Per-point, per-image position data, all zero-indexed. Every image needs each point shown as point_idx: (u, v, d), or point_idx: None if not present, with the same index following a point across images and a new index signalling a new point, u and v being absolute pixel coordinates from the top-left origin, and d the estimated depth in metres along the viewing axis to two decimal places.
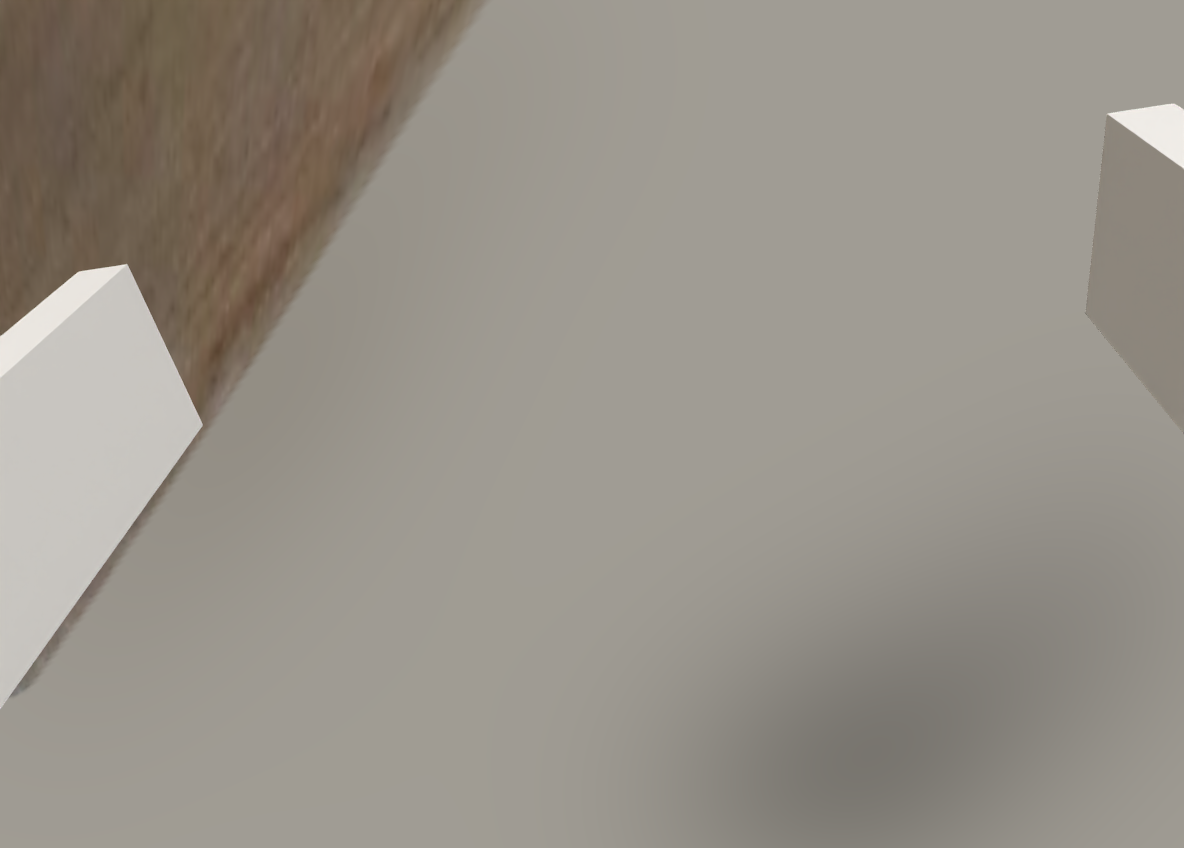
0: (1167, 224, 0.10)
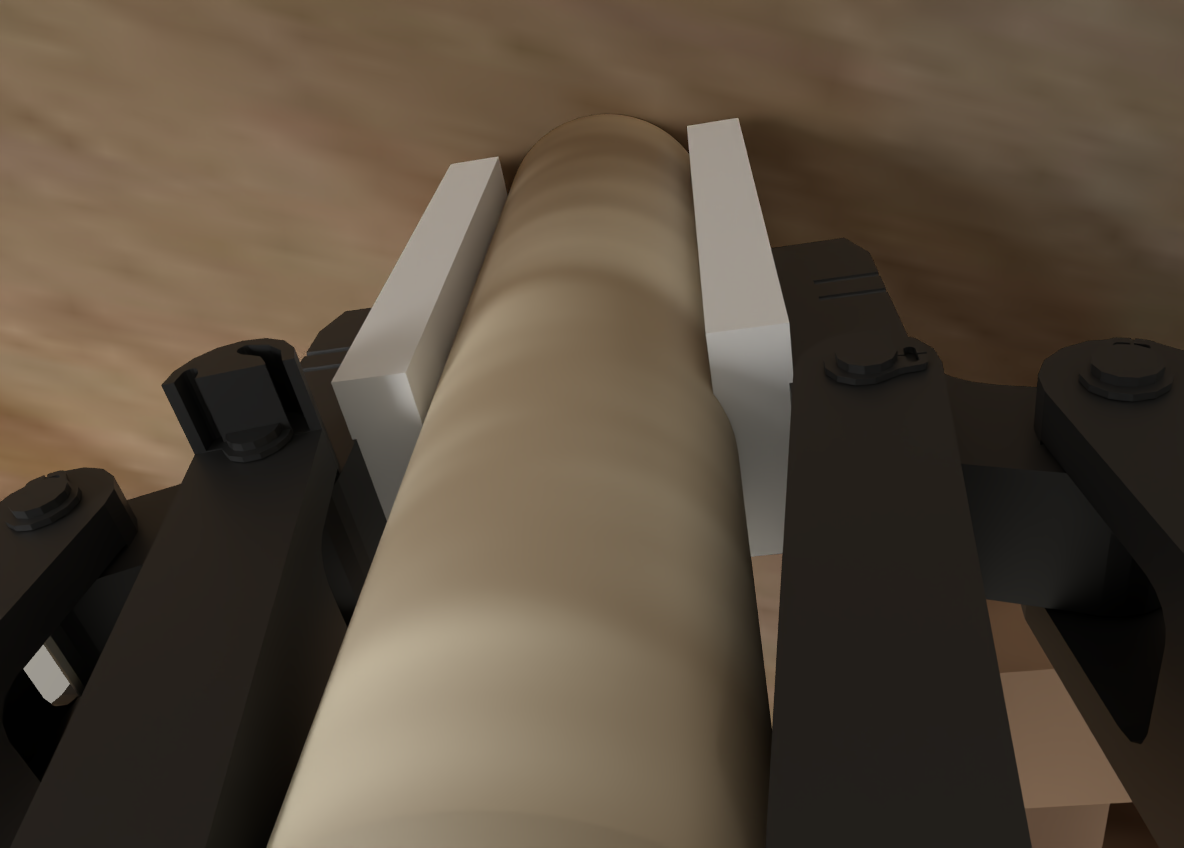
0: None
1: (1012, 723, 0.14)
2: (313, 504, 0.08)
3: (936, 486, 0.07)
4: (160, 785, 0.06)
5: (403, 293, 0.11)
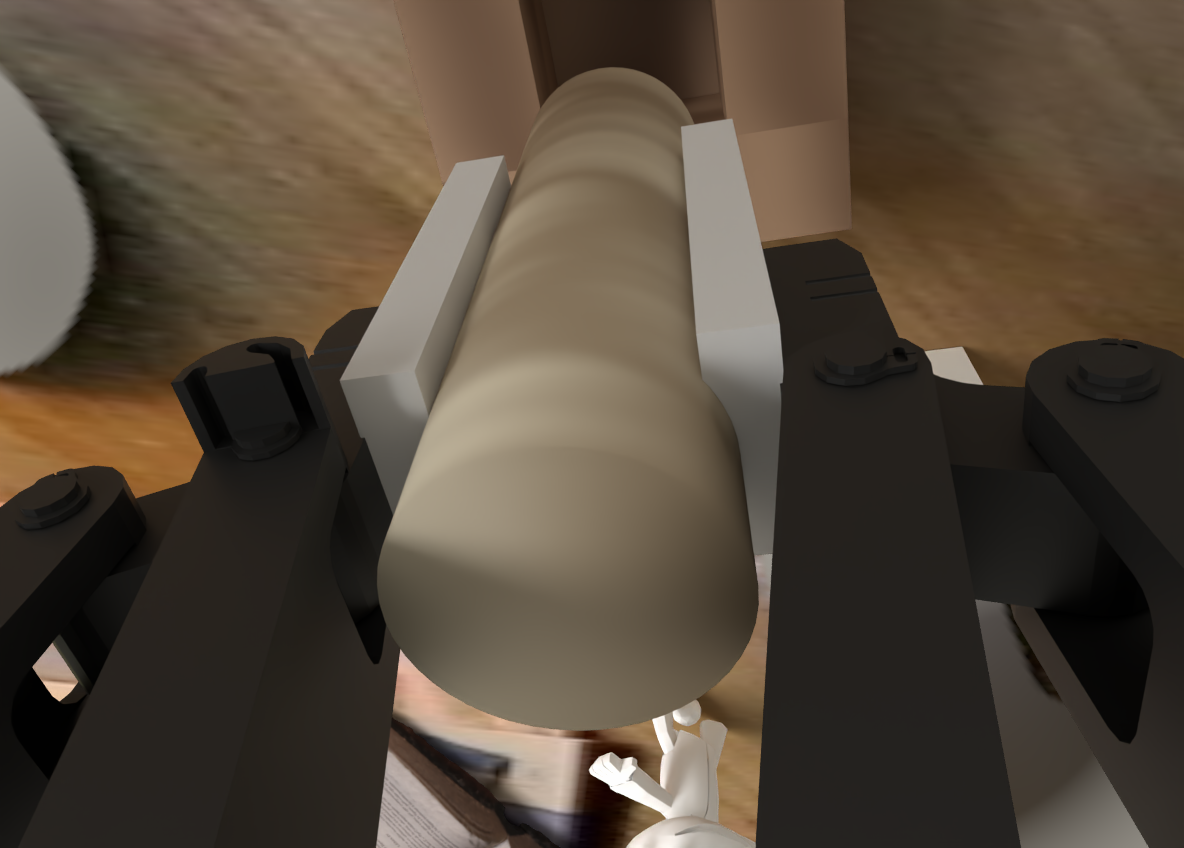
0: None
1: None
2: (321, 503, 0.08)
3: (926, 486, 0.07)
4: (168, 782, 0.06)
5: (410, 292, 0.11)
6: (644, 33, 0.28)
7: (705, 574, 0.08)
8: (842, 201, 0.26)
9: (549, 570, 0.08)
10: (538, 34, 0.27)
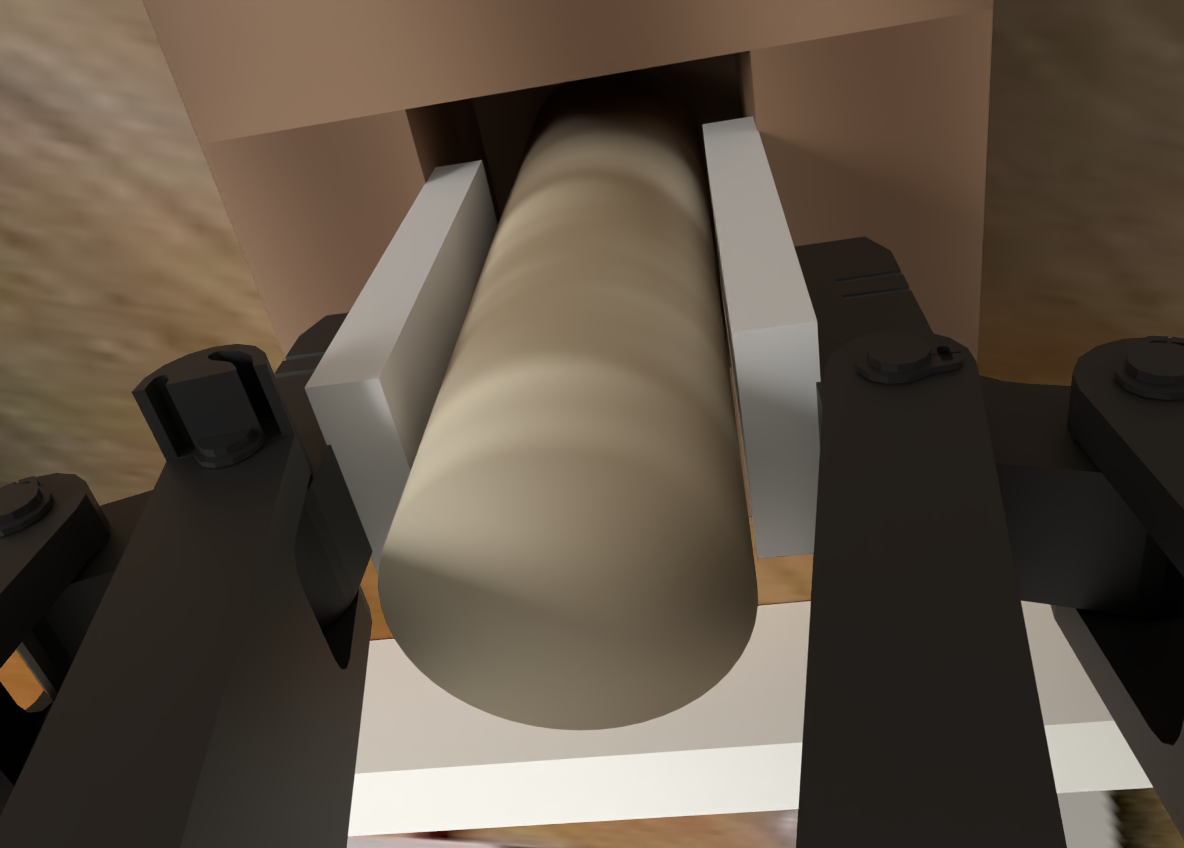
0: None
1: None
2: (286, 509, 0.08)
3: (970, 487, 0.07)
4: (132, 789, 0.06)
5: (380, 298, 0.11)
6: None
7: (704, 575, 0.08)
8: None
9: (548, 571, 0.08)
10: None
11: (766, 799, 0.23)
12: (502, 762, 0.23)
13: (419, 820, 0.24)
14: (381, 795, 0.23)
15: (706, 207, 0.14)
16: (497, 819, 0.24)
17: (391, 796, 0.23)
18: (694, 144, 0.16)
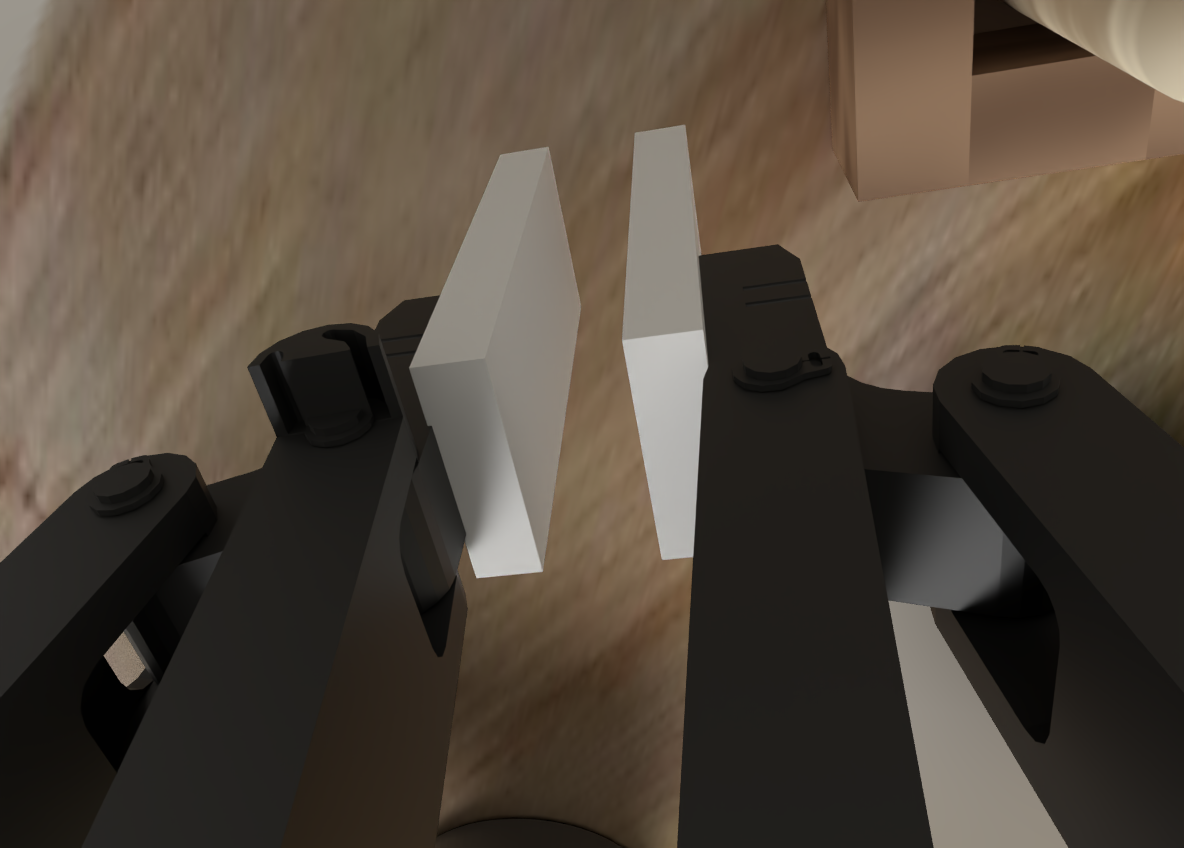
0: None
1: (896, 143, 0.27)
2: (392, 493, 0.08)
3: (840, 487, 0.07)
4: (237, 774, 0.06)
5: (470, 280, 0.11)
6: None
7: None
8: None
9: None
10: (1017, 44, 0.28)
11: None
12: None
13: None
14: None
15: None
16: None
17: None
18: None
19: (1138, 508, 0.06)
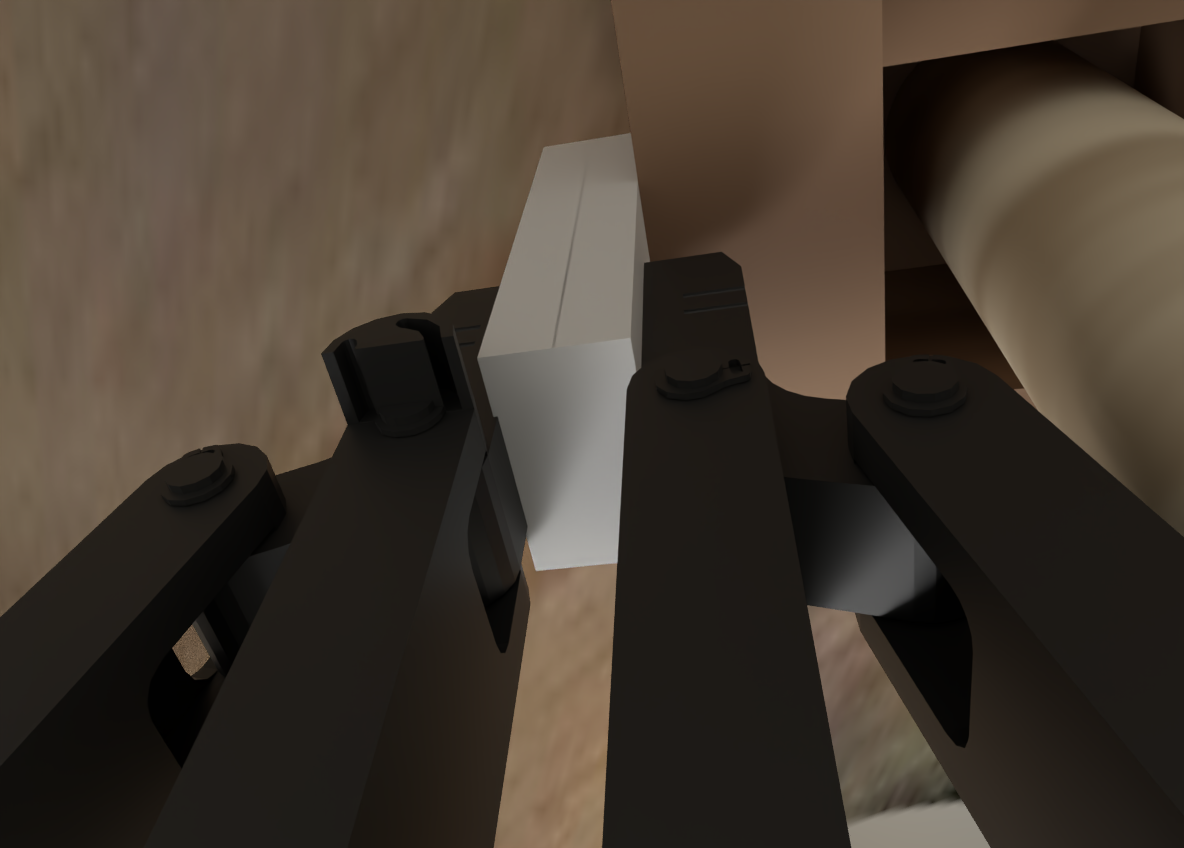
0: None
1: None
2: (462, 486, 0.08)
3: (760, 492, 0.07)
4: (305, 769, 0.06)
5: (529, 271, 0.11)
6: None
7: None
8: None
9: None
10: (974, 314, 0.16)
11: None
12: None
13: None
14: None
15: (1061, 99, 0.12)
16: None
17: None
18: (987, 66, 0.14)
19: (1041, 512, 0.06)
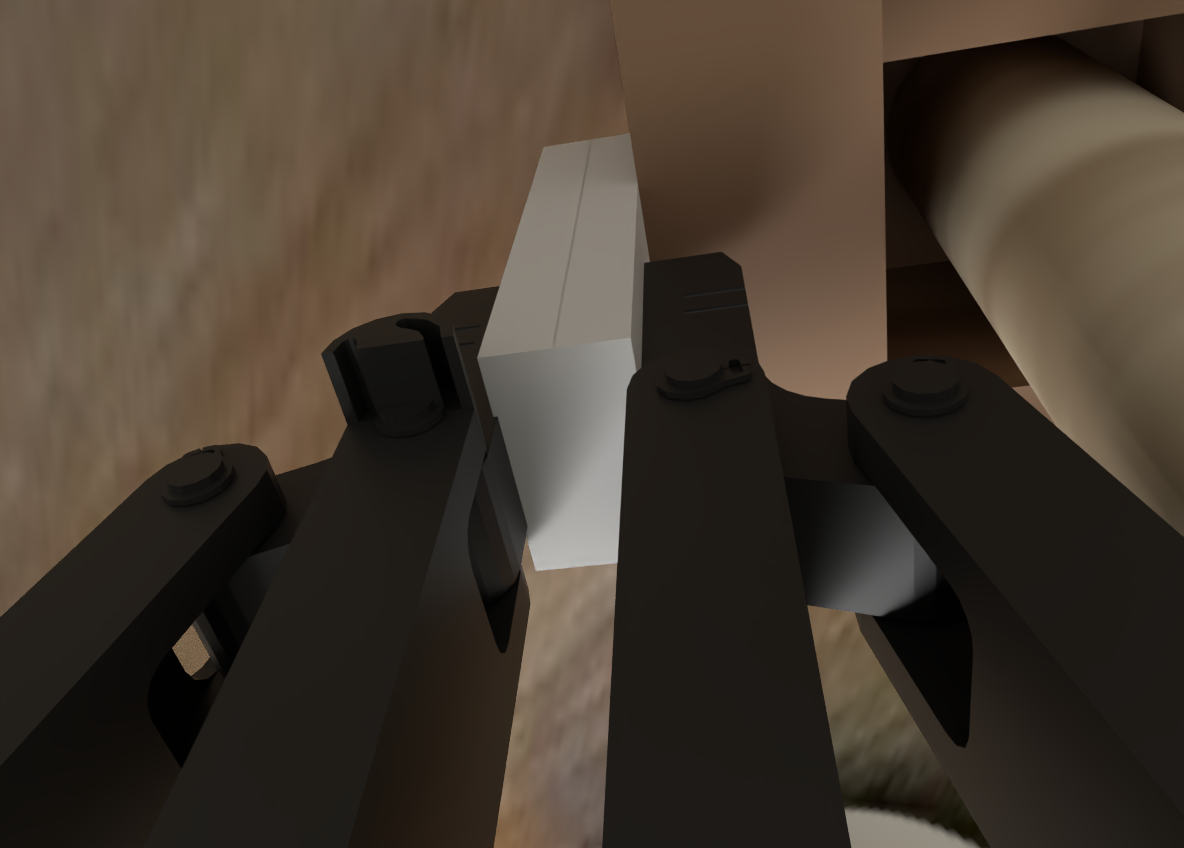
0: None
1: None
2: (462, 487, 0.08)
3: (760, 492, 0.07)
4: (305, 769, 0.06)
5: (529, 271, 0.11)
6: None
7: None
8: None
9: None
10: (977, 311, 0.16)
11: None
12: None
13: None
14: None
15: (1068, 97, 0.12)
16: None
17: None
18: (991, 63, 0.14)
19: (1041, 513, 0.06)
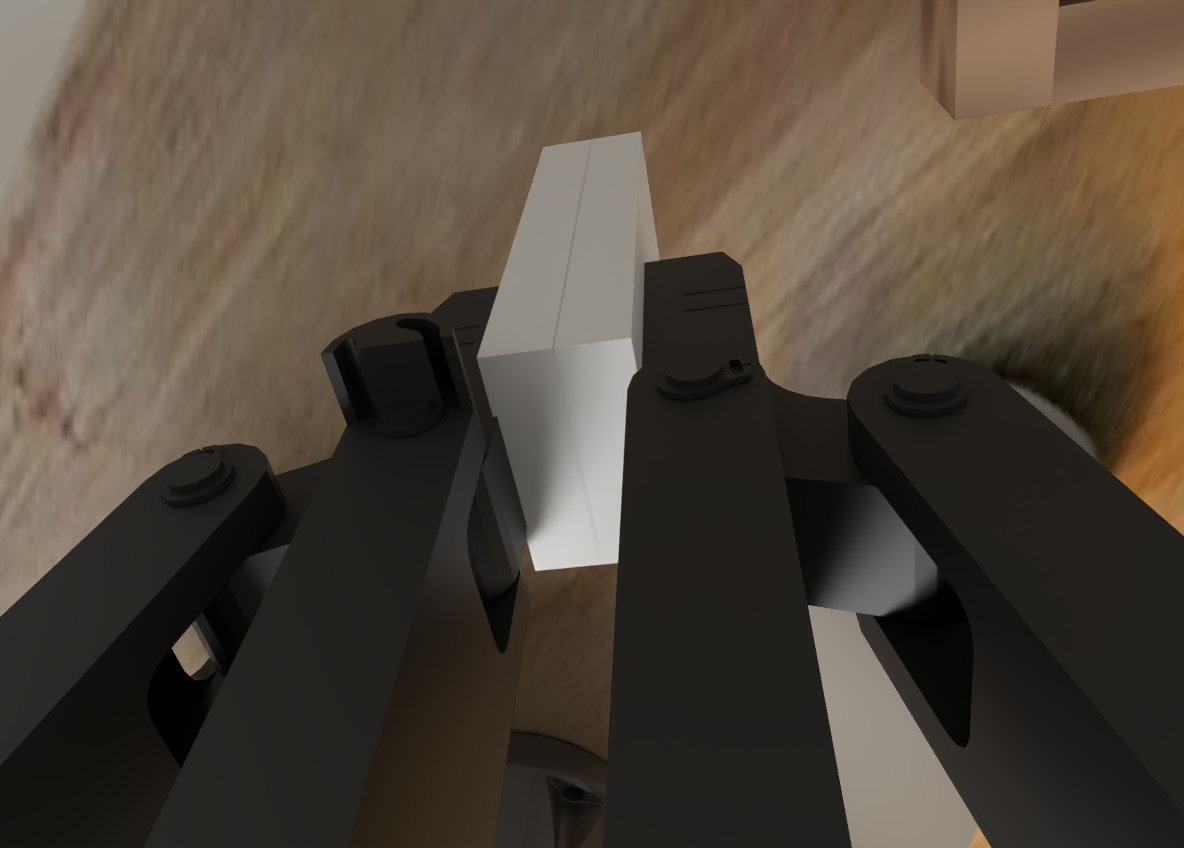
0: None
1: (990, 67, 0.32)
2: (462, 487, 0.08)
3: (760, 492, 0.07)
4: (303, 769, 0.06)
5: (529, 271, 0.11)
6: None
7: None
8: None
9: None
10: None
11: None
12: None
13: None
14: None
15: None
16: None
17: None
18: None
19: (1042, 513, 0.06)
